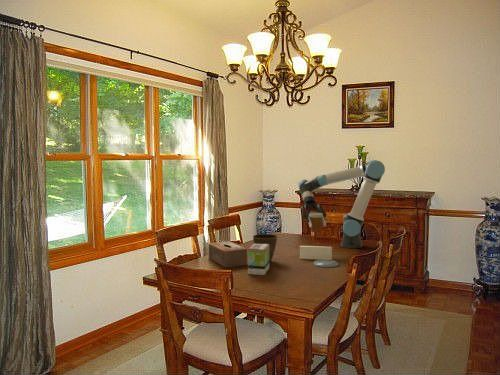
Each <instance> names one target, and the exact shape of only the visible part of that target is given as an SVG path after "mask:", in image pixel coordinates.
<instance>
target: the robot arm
mask: <svg viewBox="0 0 500 375" xmlns="http://www.w3.org/2000/svg"><path fill="white" fill-rule="evenodd" d="M385 171H386V167H385V165H384V163H383V162H382V161H380V160H377V159H373V160H369V161H368V162H365V163H362V164H360V165H358V166H356V167H351V168H347V169H344V170H337V171H333V172H331V173H325V174H321V175H318V176H316V177H314V178H312V179H310V180H308V179H301V180H300V181H299V182H298V183H297V184H298V189H299V191H300V195H301V197H302V200H303V204H302V205H301V213H302V219H304V220H306V223H307V224H308V226H309V228H311V226H312V223H311V220H310V217H309V213H310V211H314V213H322V214H323V217H322V225H323V227H326V226H327V223H326V222H327V221H326V220H327V219H326V217H327V213H326V211H325V210H324V208H323V207H322V204H321V203H319V204H317V203H316V199H315V196H314V194H313V191H315V190H319V189H320V188H323V187H325V186H327V185H328V186H329V185H332V184H336V183H341V182H345V181H350V180H353V179H358V178H361V177H362V178H363V181H362V184H361V186H360V188H359V190H358V193H357V196H356V197H355V201H354V203H353V206H352V208H351V211H350V212H348V213H347V214H344V215H343V218H342V219H343V222H342V223H343V225H342V231H343V232H342V233H343V235H342V239H341V241H340V246H341V248H346V249H361V248H363V242H362V238H361V229H362V226H363V223H364V221H365V219H364V215H365V212H366V211H367V207H368V205H369V202H370V200H371V198H372V196H373V193H374V190H375V188H376V185H377V184H380V181H381V180H382V178H383V176H384V174H385ZM306 209H307V211H306Z"/></svg>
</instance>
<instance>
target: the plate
mask: <svg viewBox="0 0 500 375" xmlns="http://www.w3.org/2000/svg"><path fill="white" fill-rule="evenodd" d="M339 265H340V263H339V262H338V261H336V260H333V259H332V260H319V259H317V260H314V261H313V266H316V267H319V268H336V267H339Z"/></svg>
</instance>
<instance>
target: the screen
mask: <svg viewBox="0 0 500 375" xmlns="http://www.w3.org/2000/svg"><path fill="white" fill-rule="evenodd" d="M332 258H333V247H332V246H318V245H317V246H316V245H300V246H299V259H300V260H332V261H333V259H332Z"/></svg>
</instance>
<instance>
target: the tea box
mask: <svg viewBox="0 0 500 375" xmlns="http://www.w3.org/2000/svg"><path fill="white" fill-rule="evenodd" d="M269 269H270V262H269V244H254V243H253V244H251V245H250V247H248V249H247V274H248V275H256V276H265V275H266V274H267V272H268V270H269Z"/></svg>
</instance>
